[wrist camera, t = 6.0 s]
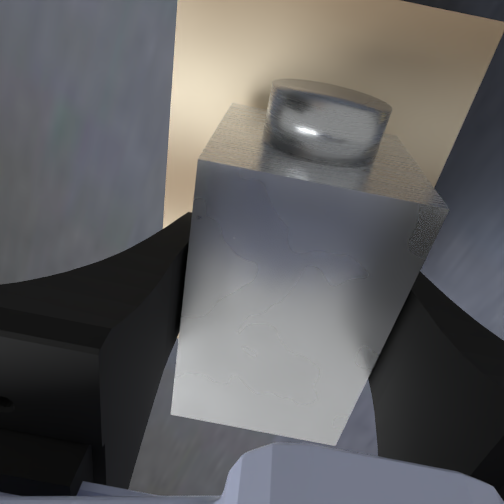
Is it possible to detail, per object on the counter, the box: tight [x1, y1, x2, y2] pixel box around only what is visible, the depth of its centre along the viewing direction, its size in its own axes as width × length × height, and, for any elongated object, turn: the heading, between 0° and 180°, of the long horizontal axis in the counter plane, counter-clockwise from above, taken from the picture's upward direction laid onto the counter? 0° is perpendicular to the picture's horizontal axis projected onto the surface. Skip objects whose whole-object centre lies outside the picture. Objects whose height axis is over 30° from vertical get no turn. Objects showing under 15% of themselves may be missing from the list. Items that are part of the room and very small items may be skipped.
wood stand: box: [163, 0, 504, 338], centre depth 16 cm, size 14×9×3 cm, turn 170°
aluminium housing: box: [171, 79, 450, 446], centre depth 12 cm, size 9×5×5 cm, turn 170°
